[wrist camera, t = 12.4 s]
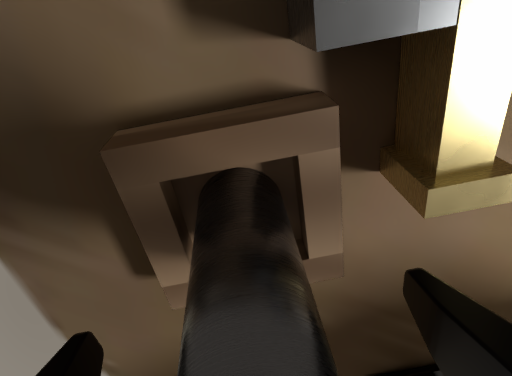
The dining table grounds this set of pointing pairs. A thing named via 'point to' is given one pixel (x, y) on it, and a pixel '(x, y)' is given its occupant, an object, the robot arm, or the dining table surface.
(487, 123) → the drift key
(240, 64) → the dining table surface
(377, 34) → the socket block
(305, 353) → the grey peg
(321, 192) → the brown square frame
